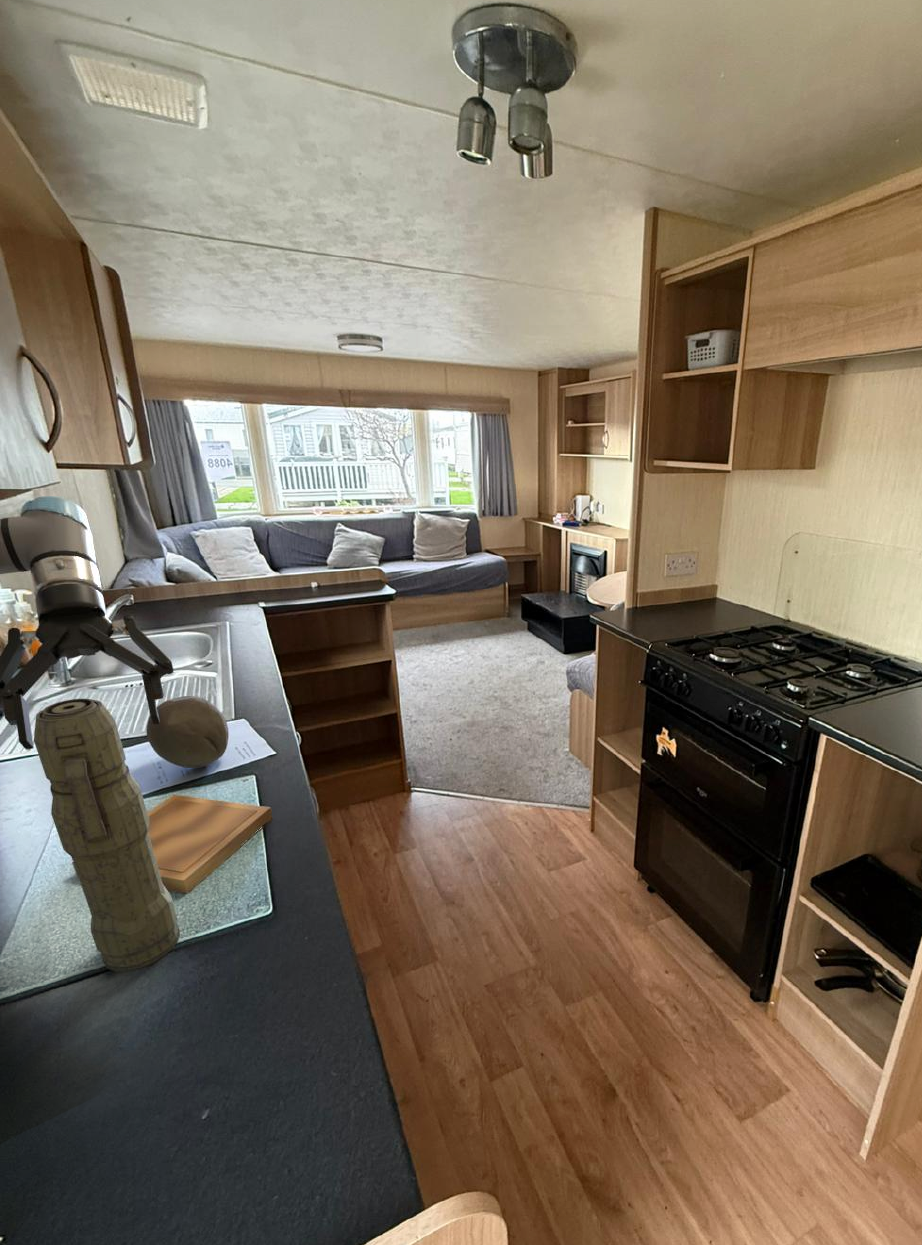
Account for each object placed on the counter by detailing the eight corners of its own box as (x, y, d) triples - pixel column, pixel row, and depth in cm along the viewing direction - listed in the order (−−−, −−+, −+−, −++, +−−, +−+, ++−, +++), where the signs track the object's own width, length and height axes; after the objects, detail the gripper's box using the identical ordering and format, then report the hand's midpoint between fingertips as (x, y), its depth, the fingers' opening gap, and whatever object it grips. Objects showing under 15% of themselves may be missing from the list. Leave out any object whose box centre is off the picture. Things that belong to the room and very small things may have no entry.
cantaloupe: (234, 744, 137) (221, 682, 131) (234, 773, 125) (219, 705, 119) (160, 757, 131) (143, 693, 125) (152, 789, 119) (133, 719, 113)
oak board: (76, 875, 95) (71, 861, 94) (176, 806, 113) (173, 794, 112) (187, 893, 91) (183, 879, 90) (272, 819, 110) (270, 806, 109)
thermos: (104, 992, 75) (14, 735, 62) (100, 934, 84) (20, 699, 71) (187, 958, 80) (119, 714, 67) (175, 907, 89) (112, 683, 76)
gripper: (-63, 592, 76) (-48, 745, 70) (170, 571, 89) (200, 699, 83) (-39, 623, 82) (-23, 767, 76) (176, 599, 95) (205, 721, 89)
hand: (93, 732), depth 80 cm, fingers open, 13 cm apart
